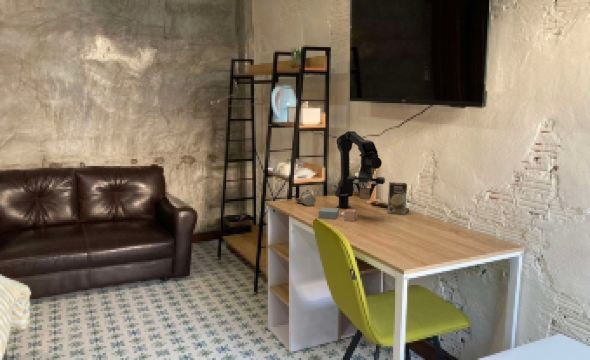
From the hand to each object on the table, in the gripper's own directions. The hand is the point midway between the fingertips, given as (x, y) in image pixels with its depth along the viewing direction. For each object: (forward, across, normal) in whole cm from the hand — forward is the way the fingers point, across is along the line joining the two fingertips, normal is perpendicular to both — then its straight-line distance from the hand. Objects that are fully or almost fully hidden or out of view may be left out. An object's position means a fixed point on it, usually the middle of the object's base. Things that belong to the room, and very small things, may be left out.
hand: (365, 196), depth 262 cm
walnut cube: (+1, 0, 0) cm, 1 cm away
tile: (+11, -10, +2) cm, 15 cm away
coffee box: (+11, +14, +15) cm, 24 cm away
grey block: (+11, -18, -6) cm, 22 cm away
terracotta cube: (+11, -6, -9) cm, 15 cm away
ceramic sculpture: (+11, -38, +19) cm, 44 cm away
